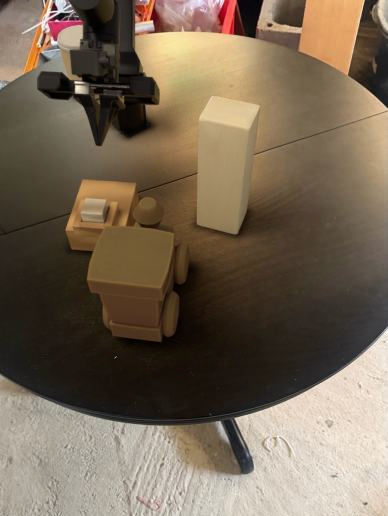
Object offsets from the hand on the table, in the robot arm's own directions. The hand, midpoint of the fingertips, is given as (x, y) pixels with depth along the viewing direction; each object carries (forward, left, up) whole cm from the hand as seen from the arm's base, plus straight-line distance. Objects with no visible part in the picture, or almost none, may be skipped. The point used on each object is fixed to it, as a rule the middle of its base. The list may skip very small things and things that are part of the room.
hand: (98, 145), depth 78 cm
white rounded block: (+6, +6, -7) cm, 11 cm away
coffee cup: (-18, -36, -14) cm, 42 cm away
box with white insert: (+3, +3, -13) cm, 14 cm away
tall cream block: (-15, +15, -14) cm, 25 cm away
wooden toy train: (+7, +22, -14) cm, 27 cm away
